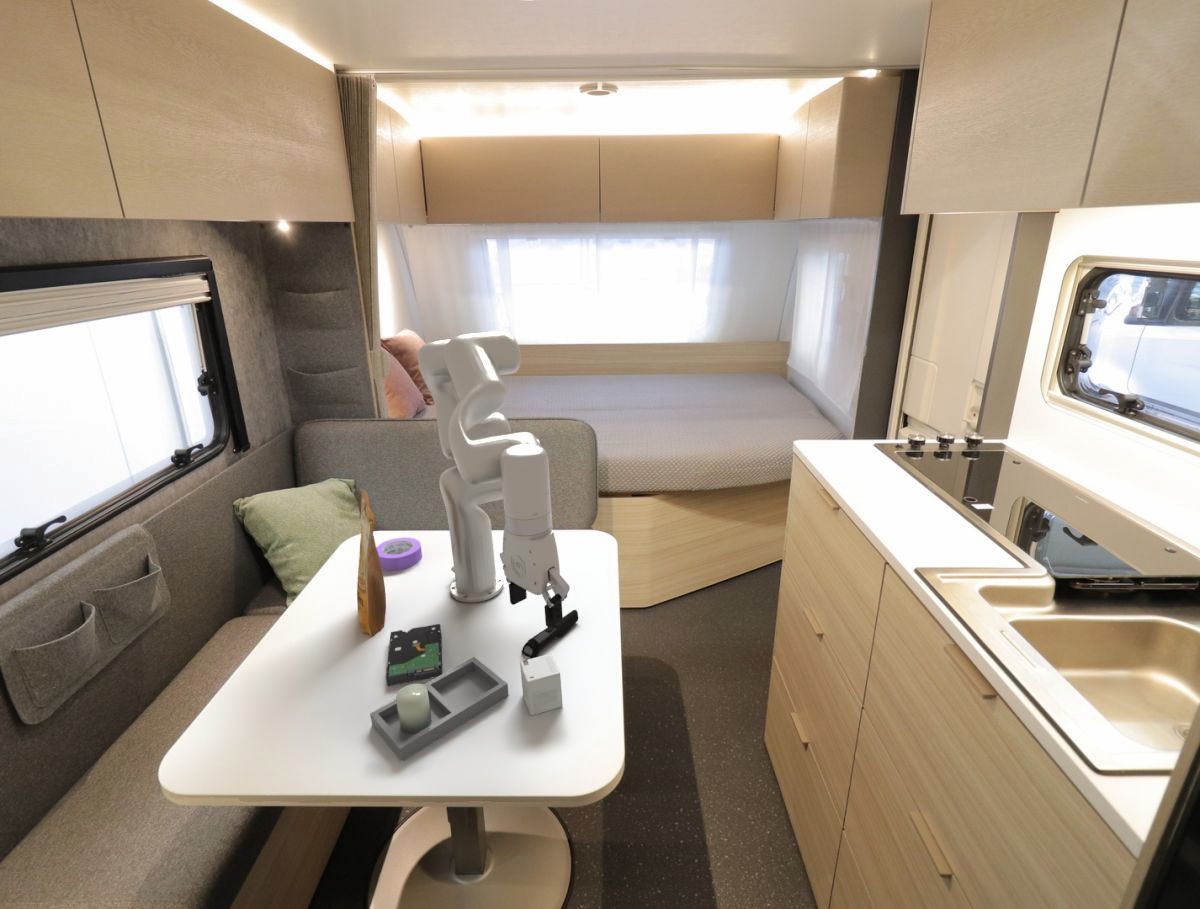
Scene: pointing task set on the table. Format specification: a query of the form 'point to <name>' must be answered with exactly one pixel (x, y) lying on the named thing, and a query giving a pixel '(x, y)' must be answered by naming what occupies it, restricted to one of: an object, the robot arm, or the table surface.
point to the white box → (541, 684)
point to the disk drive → (414, 655)
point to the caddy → (443, 706)
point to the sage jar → (413, 708)
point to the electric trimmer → (549, 635)
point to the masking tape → (399, 545)
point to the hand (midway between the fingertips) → (536, 611)
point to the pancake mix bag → (370, 576)
